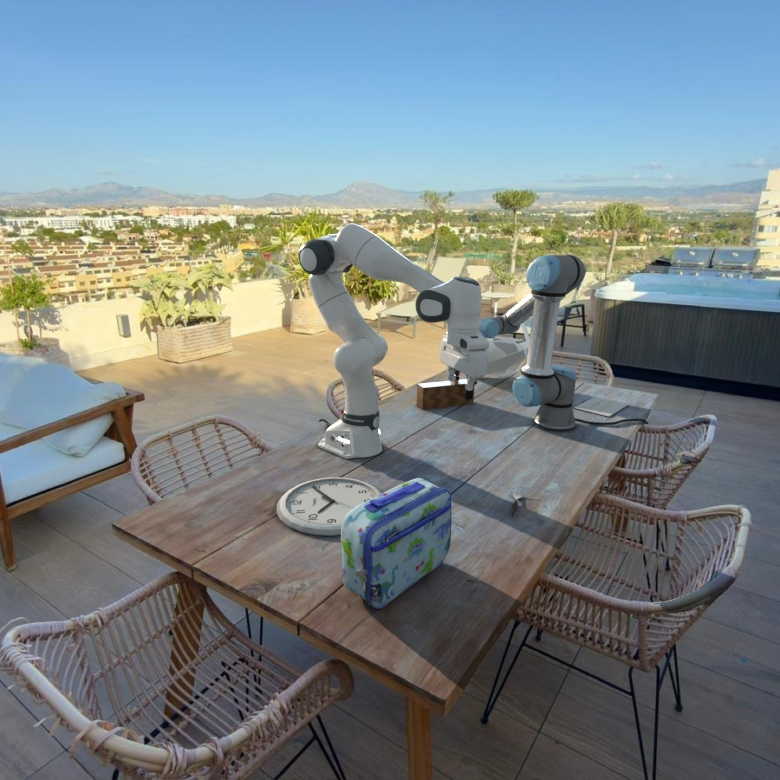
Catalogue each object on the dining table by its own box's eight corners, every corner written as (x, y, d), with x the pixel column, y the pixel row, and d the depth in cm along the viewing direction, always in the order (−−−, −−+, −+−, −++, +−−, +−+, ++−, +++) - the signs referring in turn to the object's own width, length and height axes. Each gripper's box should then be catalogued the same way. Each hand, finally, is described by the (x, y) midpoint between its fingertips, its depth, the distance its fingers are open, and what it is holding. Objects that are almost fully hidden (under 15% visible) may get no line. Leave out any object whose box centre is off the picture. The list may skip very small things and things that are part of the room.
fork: (506, 517, 138) (507, 510, 138) (514, 490, 152) (515, 483, 152) (516, 518, 137) (517, 512, 137) (523, 491, 152) (524, 485, 151)
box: (466, 399, 233) (467, 378, 230) (473, 403, 227) (474, 382, 224) (416, 405, 224) (417, 383, 221) (422, 409, 219) (423, 387, 216)
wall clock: (392, 527, 129) (268, 531, 127) (391, 533, 130) (269, 537, 127) (383, 473, 158) (282, 475, 155) (383, 478, 158) (282, 480, 156)
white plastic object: (486, 418, 267) (465, 395, 242) (467, 346, 289) (447, 318, 264) (556, 394, 255) (543, 367, 230) (531, 321, 277) (516, 289, 252)
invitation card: (608, 416, 214) (573, 407, 224) (608, 416, 214) (573, 408, 224) (628, 404, 229) (594, 396, 238) (628, 405, 229) (594, 397, 238)
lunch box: (370, 622, 101) (370, 527, 94) (335, 595, 108) (333, 505, 102) (455, 565, 118) (460, 481, 112) (420, 544, 125) (423, 465, 119)
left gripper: (435, 331, 152) (433, 376, 156) (472, 345, 134) (469, 396, 138) (454, 329, 154) (451, 374, 158) (493, 343, 136) (489, 394, 141)
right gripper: (444, 341, 231) (442, 387, 237) (471, 353, 209) (468, 404, 216) (459, 340, 233) (456, 386, 240) (487, 351, 212) (484, 402, 218)
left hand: (460, 385), depth 148 cm, fingers open, 8 cm apart
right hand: (462, 394), depth 228 cm, fingers open, 12 cm apart
